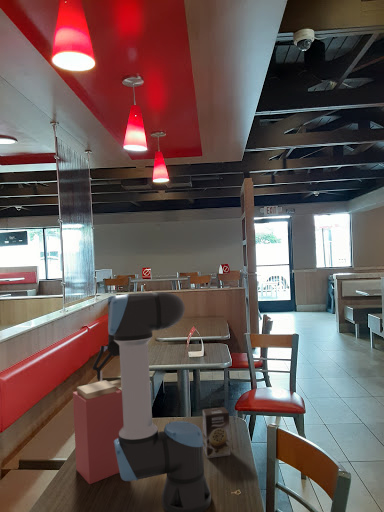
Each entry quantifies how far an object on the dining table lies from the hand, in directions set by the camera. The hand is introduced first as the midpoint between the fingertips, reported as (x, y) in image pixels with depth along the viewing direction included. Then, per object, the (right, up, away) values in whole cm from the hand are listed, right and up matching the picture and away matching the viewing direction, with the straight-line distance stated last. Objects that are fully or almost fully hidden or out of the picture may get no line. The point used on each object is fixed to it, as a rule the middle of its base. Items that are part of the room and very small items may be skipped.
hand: (118, 386), depth 160 cm
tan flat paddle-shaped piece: (0, +4, -14) cm, 15 cm away
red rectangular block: (-3, -24, -17) cm, 30 cm away
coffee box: (+39, -22, -9) cm, 46 cm away
